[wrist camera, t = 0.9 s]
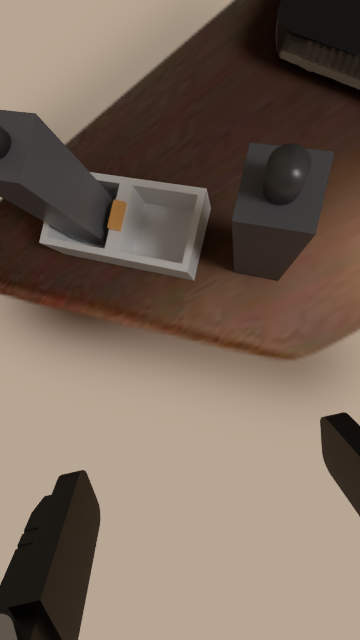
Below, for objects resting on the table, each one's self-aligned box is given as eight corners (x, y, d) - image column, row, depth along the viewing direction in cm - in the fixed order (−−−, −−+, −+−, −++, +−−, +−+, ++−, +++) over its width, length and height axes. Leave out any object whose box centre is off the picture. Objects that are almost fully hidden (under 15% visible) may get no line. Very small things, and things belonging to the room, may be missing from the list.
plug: (234, 272, 28) (230, 203, 13) (243, 230, 28) (251, 113, 13) (278, 280, 27) (327, 218, 12) (288, 237, 27) (350, 122, 12)
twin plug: (77, 241, 30) (-74, 153, 15) (86, 202, 30) (-57, 78, 15) (113, 248, 29) (-10, 163, 15) (122, 208, 29) (8, 84, 15)
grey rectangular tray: (64, 253, 31) (34, 240, 26) (79, 188, 31) (52, 163, 26) (194, 280, 28) (185, 270, 24) (210, 208, 28) (205, 185, 24)
